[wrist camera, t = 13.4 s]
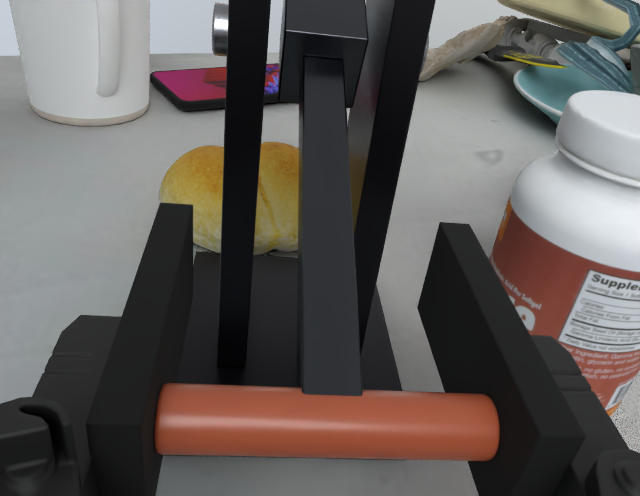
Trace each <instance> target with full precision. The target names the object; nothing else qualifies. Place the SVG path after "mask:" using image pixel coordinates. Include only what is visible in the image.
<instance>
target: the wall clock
mask: <svg viewBox="0 0 640 496" xmlns="http://www.w3.org/2000/svg"><path fill="white" fill-rule="evenodd" d="M498 2H499V3H501V4H502V5H505V6H507V7H509V8H511V9H514V10H517V11H519V12H522V13H524V14H527V15H530V16H533V17H535V18H538V19H541V20H543V21H546V22H549V23H552V24H555V25H558V26H561V27H563V28H566V29H569V30H572V31H576V32H579V33H583V34H586V35H590V36H597V37H600V38H602V39H606V40H615V39H618V38H621V37H622V36H623V35H624V34H625V32H626V31H627V30H628V29H629V28H630V24H629V16H628V14H627V13H625V12H623V11H621V10H619V9H618V8H616V7H614V6H612V5H610V4H608V3H606V2H603V1H602V0H498ZM634 44H640V34H639V35H638V36H637V37H636V39H635V40H634V41H633V42H632V43H631V45H630V46H629V47H627V48H626V49H630V48H631V46H632V45H634Z"/></svg>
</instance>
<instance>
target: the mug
mask: <svg viewBox="0 0 640 496" xmlns="http://www.w3.org/2000/svg"><path fill="white" fill-rule="evenodd" d="M9 2H10V7H11V12H12V17H13V21H14V26H15V31H16V36H17V41H18V46H19V51H20V56H21V61H22V66H23V70H24V75H25V80H26V85H27V90H28V95H29V100H30V105H31V108H32V109H33V110H34V111H35V112H36V113H37V114H38V115H39V116H41V117H43V118H45V119H47V120H50V121H54V122H58V123H62V124H69V125H78V126H104V125H113V124H119V123H124V122H127V121H131V120H134V119H136V118H138V117H140V116H142V115H143V114H144V113H145V112H146V111H147V109H148V106H149V45H150V0H9Z"/></svg>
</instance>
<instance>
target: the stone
mask: <svg viewBox="0 0 640 496" xmlns="http://www.w3.org/2000/svg"><path fill="white" fill-rule="evenodd" d="M509 18H510V17H509V16H506V17H503V18H500V19H497V20H496V21H495V22H493V23H487V24H482V25H480V26H477V27H474V28H472V29H470V30H467V31H463V32H461V33H459V34H458V35H457V36H456V37H454V38H453V39H450V40H448V41H447V42H446V43H445V44H443V45H441V46H440V47H439V48H435V49H428V53H427V58H426V62H425V65H424V68H423V70H422V72H421V74H420V77H419V81H425V80H427V79H429V78H430V77H432V76H433V75H434V74H436V73H437V72H438V71H440V70H442V69H444V68H446V67H448V66H451V65H453V64H454V63H456V62H457V63H459V64H465V63H467V62H469V61H471V60H472V59H474V58H475V57H477V56H478V55H479V54H481V53H482V52H485V51H489V50H491V49H492V48H494V47H495V46H496V45H497V44H498V43H499V42H500V41H501V39H502V38H503V35H504V30H505V27H506V24H507V21H508V20H509Z"/></svg>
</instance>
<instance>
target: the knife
mask: <svg viewBox="0 0 640 496" xmlns="http://www.w3.org/2000/svg"><path fill="white" fill-rule="evenodd" d="M482 53H485V54H486V55H487V56H488V58H490V59H492V60H494V61H520V62H524V63H527V64H531V65H536V66H541V67H549V68H568V67H566V66H564V65H561V64H559V63H558V62H557V61H556V60H551V59H548V58H544V57H539V56H536V55H532V54H527V53H526V51H525V49H523V48H521V47H519V46H504V45H498V44H497V45H496V46H495V47H494V48H492V49H491V50H489V51H485V52H482Z"/></svg>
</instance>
